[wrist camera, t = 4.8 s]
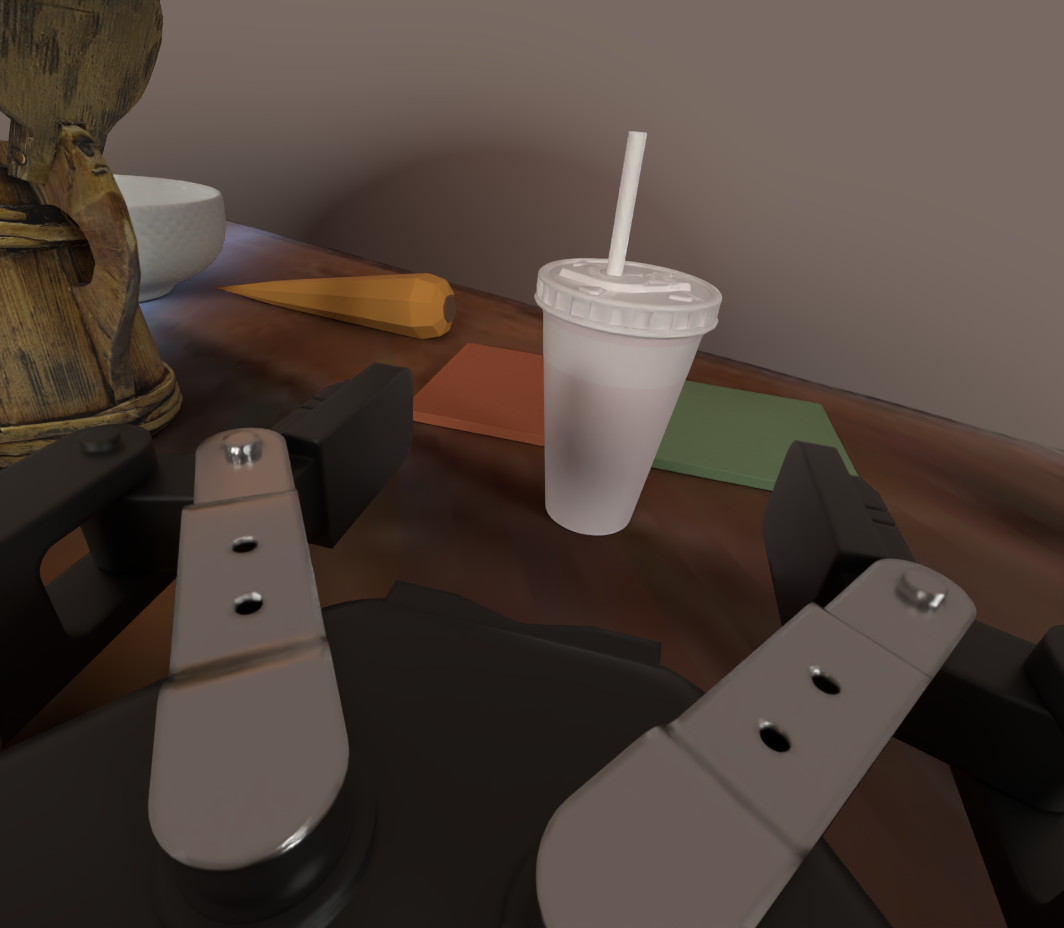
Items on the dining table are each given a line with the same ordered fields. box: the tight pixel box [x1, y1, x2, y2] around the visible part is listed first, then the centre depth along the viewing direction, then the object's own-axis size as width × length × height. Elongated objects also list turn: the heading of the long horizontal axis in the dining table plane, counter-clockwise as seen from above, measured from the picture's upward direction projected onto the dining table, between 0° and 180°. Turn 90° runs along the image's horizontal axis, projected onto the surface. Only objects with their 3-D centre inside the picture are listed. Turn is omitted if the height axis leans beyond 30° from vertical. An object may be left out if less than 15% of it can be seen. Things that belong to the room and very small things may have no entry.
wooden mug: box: [0, 0, 183, 468], centre depth 21 cm, size 9×14×18 cm, turn 68°
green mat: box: [651, 380, 858, 491], centre depth 32 cm, size 11×11×1 cm
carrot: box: [217, 273, 457, 339], centre depth 42 cm, size 20×4×4 cm, turn 72°
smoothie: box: [534, 131, 722, 535], centre depth 21 cm, size 6×6×14 cm
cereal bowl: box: [113, 175, 226, 302], centre depth 41 cm, size 17×17×7 cm
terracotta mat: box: [413, 343, 545, 447], centre depth 34 cm, size 11×11×1 cm
